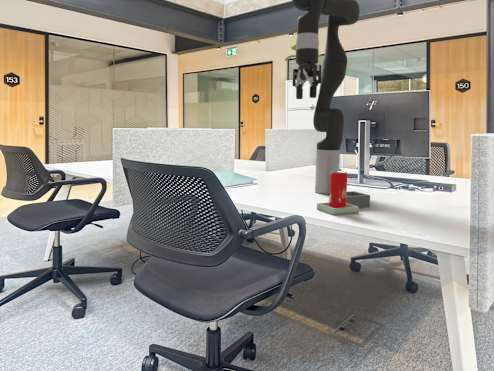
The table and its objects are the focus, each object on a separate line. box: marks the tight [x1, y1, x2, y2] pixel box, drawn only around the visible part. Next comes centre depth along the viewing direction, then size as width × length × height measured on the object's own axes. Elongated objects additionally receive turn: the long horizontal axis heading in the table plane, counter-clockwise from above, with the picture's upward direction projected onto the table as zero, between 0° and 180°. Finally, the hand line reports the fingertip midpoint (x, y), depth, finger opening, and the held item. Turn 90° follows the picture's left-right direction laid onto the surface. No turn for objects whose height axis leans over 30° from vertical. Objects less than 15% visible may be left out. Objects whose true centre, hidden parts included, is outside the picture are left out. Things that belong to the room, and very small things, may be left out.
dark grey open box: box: [346, 190, 371, 209], centre depth 139 cm, size 9×9×4 cm
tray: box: [316, 201, 360, 216], centre depth 130 cm, size 9×9×2 cm
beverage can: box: [328, 170, 348, 208], centre depth 129 cm, size 5×5×12 cm
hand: (305, 98), depth 140 cm, fingers open, 8 cm apart
